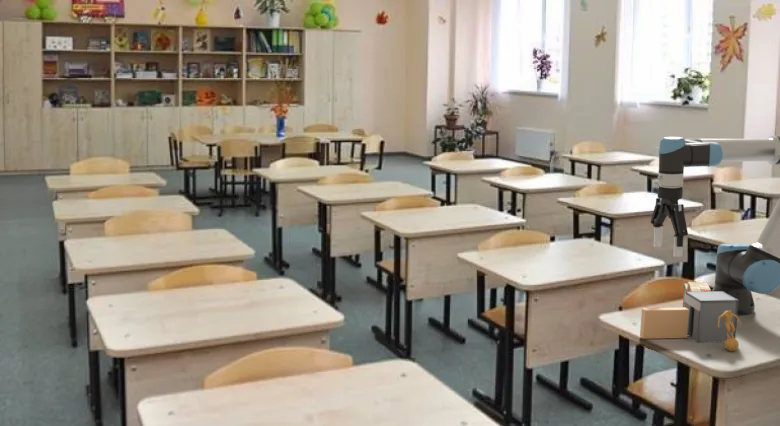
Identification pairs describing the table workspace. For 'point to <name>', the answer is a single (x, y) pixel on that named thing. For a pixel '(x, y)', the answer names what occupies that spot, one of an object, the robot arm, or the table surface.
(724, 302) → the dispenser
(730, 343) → the figurine
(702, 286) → the stack of blocks
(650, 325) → the light orange rectangular block
